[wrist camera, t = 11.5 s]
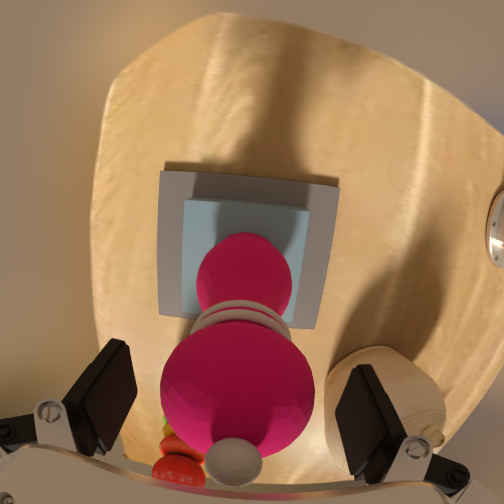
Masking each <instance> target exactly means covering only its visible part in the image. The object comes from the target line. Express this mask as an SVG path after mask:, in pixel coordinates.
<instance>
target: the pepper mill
mask: <svg viewBox="0 0 504 504" xmlns="http://www.w3.org/2000/svg"><path fill="white" fill-rule="evenodd" d="M196 291H197V296H198V300H199V304H200V307H201V309H202V311H203V313H202V314H201V315H200V316H199V317H198V318H197V320H196V321H195V323H194V325H193V327H192V329H191V333H190V335H189V336H188V337H186V338H185V339H184V340H183V341H182V342H181V343H180V344H179V345H178V346H177V347H176V348H175V349H174V350H173V352H172V354H171V355H170V357H169V359H168V360H167V362H166V364H165V367H164V369H163V373H162V378H161V382H160V397H161V405H162V408H163V411H164V414H165V417H166V420H167V422H168V423H169V425H170V426H171V428H172V429H173V431H174V432H175V433H176V435H177V436H178V437H180V438H181V439H182V440H183V441H184V442H185V443H186V444H187V445H189V446H190V447H192V448H194V449H195V450H197V451H199V452H201V453H204V454H206V455H205V468H206V471H207V472H208V474H209V476H210V477H211V478H212V479H213V480H214V481H216V482H217V483H220V484H221V485H224V486H228V487H240V486H245V485H247V484H249V483H251V482H252V481H253V480H255V479H256V478H257V477H258V475H259V474H260V472H261V469H262V458H263V457H267V456H269V455H272V454H274V453H277V452H279V451H281V450H282V449H284V448H286V447H287V446H289V445H290V444H291V443H292V442H293V441H294V440H295V439H296V438H297V437H298V436H299V435H300V434H301V433H302V431H303V430H304V429H305V427H306V425H307V423H308V422H309V420H310V417H311V415H312V411H313V407H314V398H315V387H314V381H313V376H312V371H311V368H310V366H309V364H308V362H307V360H306V358H305V356H304V355H303V354H302V353H301V351H300V350H299V349H298V348H297V347H296V346H295V345H294V343H292V341H291V336H290V332H289V329H288V327H287V325H286V323H285V322H284V321H283V319H282V318H281V316H282V315H283V314H284V312H285V310H286V308H287V306H288V303H289V300H290V297H291V293H292V277H291V272H290V268H289V265H288V263H287V261H286V259H285V258H284V256H283V255H282V254H281V253H280V252H279V251H278V249H277V248H275V247H274V246H273V245H272V243H271V242H270V241H268V240H267V239H266V238H264V237H263V236H260V235H258V234H255V233H250V232H241V233H235V234H233V235H230V236H228V237H226V238H225V239H223V240H222V241H221V242H220V243H218V244H217V245H216V246H214V247H213V248H212V249H211V250H210V251H209V252H208V253H207V254H206V255H205V257H204V259H203V260H202V262H201V264H200V267H199V270H198V274H197V280H196Z"/></svg>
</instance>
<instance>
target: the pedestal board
mask: <svg viewBox="0 0 504 504" xmlns="http://www.w3.org/2000/svg"><path fill="white" fill-rule="evenodd" d="M339 192H340V188H338V187H332V186H326V185H319V184H312V183H305V182H297V181H289V180H281V179H273V178H263V177H253V176H243V175H231V174H218V173H202V172H183V171H160V183H159V201H158V232H157V272H158V302H159V315H166V316H172V317H180V318H187V319H195V320H197V318H198V317H199V316H200V315H201V314H202V313H203V311H202V309H201V307H200V304H199V300H198V296H197V291H196V280H197V274H198V270H199V267H200V264H201V262H202V260H203V259H204V257H205V255H206V254H207V253H208V252H209V251H210V250H211V249H212V248H213V247H214V246H216V245H217V244H218V243H220V242H221V241H222V240H223V239H225V238H226V237H228V236H230V235H233V234H235V233H241V232H250V233H255V234H258V235H260V236H263V237H264V238H266V239H267V240H268V241H270V242H271V243H272V245H273V246H274V247H275V248H277V249H278V251H279V252H280V253H281V254H282V255H283V256H284V258H285V259H286V261H287V263H288V265H289V268H290V272H291V277H292V293H291V297H290V300H289V303H288V306H287V308H286V310H285V312H284V314H283V315H282V316H281V318H282V319H283V321H284V322H285V323H286V325H287V327H288V328H296V329H315V325H316V321H317V316H318V312H319V307H320V303H321V298H322V293H323V289H324V284H325V279H326V273H327V268H328V263H329V257H330V252H331V246H332V240H333V234H334V227H335V221H336V214H337V207H338V199H339Z"/></svg>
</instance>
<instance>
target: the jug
mask: <svg viewBox="0 0 504 504" xmlns="http://www.w3.org/2000/svg"><path fill="white" fill-rule="evenodd" d="M358 364H371V365H372V367H373V368H374V370H375V372H376V374H377V376H378V378H379V380H380V382H381V384H382V386H383V388H384V390H385V392H386V393H387V394H388V396H389V398H390V400H391V402H392V404H393V406H394V408H395V410H396V412H397V414H398V416H399V418H400V420H401V422H402V424H403V427H404V429H405V431H406V433H407V435H408V436H411V435H421V436H424V437H426V438H427V439H428V440H429V441H430V442H431V444H432V446H433V448H434V447H439V446H441V445H442V444H443V443H444V441H445V436H444V435H443V434H442V431H443V429H444V426H445V421H446V407H445V402H444V398H443V395H442V393H441V391H440V389H439V387H438V385H437V384H436V383H435V381H434V380H433V379H432V378H431V377H430V376H429V375H427V374H426V373H425V372H424V371H423V370H421V369H420V368H419V367H418V366H416V365H415V364H414V363H412V362H411V361H409V360H408V359H407V358H405V357H404V356H402V355H401V354H399V353H398V352H397V351H395V350H394V349H392V348H390V347H387V346H380V345H378V346H369V347H365V348H362V349H359V350H357V351H355V352H353V353H351V354H350V355H348V356H346V357H345V358H344V359H342V360H341V361H340V362H339V363H337V364H336V365H335V367H334V368H333V369H332V370H331V372H330V373H329V375H328V377H327V379H326V382H325V388H324V390H325V393H324V421H325V438H326V443H327V446H328V449H329V451H330V454H331V456H332V457H333V459H334V460H335V462H336V463H337V464H338V465H339V466H340V467H341V468H342V469H343V470H344V471H345V472H347V473H348V474H350V472H349V468H348V464H347V460H346V456H345V452H344V448H343V444H342V441H341V437H340V433H339V429H338V425H337V422H336V418H335V409H336V407H337V404H338V402H339V400H340V398H341V395H342V393H343V391H344V388H345V386H346V383H347V381H348V378H349V376H350V373H351V371H352V369H353V368H356V366H357V365H358ZM350 475H351V474H350ZM352 476H354V475H352Z"/></svg>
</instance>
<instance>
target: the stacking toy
mask: <svg viewBox="0 0 504 504" xmlns="http://www.w3.org/2000/svg"><path fill="white" fill-rule="evenodd" d="M164 424H165V426H164V427H163V431H162V432H163V437H164V439H163V440H162V441H161V443H160V446H159V448H160V452H161V454H162V455H163V456H164V457H162V458H160V459H159V460H158V461H157V462H156V463H155V464H154V466H153V469H152V478H156V479H160V480H164V481H168V482H173V483H178V484H183V485H188V486H194V487H200V488H204V485H205V474H204V471H203V469H202V468H201V466H200V465H202V464H204V463H205V455H206V454H204V453H201V452H199V451H197V450H195V449H194V448H192V447H190V446H189V445H187V444H186V443H185V442H184V441H183V440H182V439H181V438H180V437H178V436H177V435H176V433H175V432H174V431H173V429H172V428H171V426H170V425H169V423H168V422H167V420H166V417H165V414H164Z"/></svg>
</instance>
